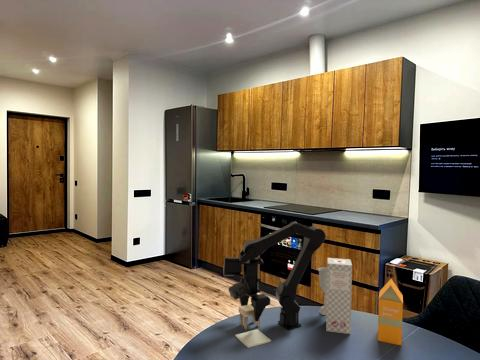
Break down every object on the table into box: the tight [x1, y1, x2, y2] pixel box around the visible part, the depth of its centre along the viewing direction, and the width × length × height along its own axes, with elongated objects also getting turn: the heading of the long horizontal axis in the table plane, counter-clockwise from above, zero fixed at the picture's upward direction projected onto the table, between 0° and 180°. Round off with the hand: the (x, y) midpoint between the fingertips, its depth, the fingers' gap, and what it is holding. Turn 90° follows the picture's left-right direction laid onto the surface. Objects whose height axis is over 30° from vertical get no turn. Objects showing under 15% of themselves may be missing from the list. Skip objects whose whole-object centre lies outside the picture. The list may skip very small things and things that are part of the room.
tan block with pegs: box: [238, 303, 261, 331], centre depth 127 cm, size 7×5×7 cm
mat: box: [234, 328, 272, 349], centre depth 117 cm, size 9×9×1 cm
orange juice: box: [377, 278, 404, 346], centre depth 120 cm, size 8×9×20 cm
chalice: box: [317, 266, 327, 316], centre depth 139 cm, size 7×7×18 cm
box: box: [325, 257, 353, 335], centre depth 126 cm, size 8×8×25 cm
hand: (250, 316), depth 127 cm, fingers open, 9 cm apart
